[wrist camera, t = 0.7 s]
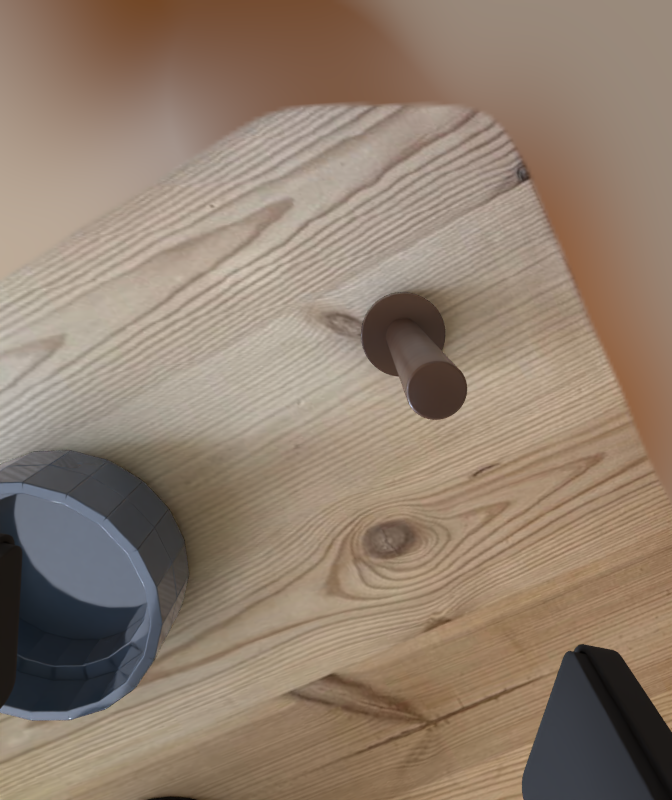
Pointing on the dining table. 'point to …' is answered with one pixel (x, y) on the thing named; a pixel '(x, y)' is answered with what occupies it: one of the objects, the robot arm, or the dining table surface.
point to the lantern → (171, 798)
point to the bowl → (87, 581)
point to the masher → (414, 353)
